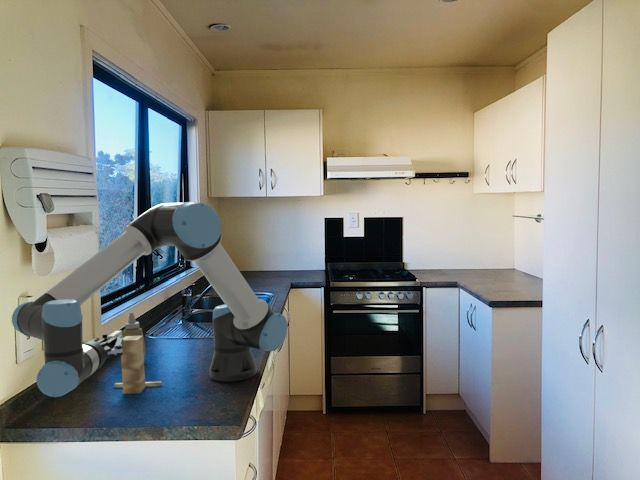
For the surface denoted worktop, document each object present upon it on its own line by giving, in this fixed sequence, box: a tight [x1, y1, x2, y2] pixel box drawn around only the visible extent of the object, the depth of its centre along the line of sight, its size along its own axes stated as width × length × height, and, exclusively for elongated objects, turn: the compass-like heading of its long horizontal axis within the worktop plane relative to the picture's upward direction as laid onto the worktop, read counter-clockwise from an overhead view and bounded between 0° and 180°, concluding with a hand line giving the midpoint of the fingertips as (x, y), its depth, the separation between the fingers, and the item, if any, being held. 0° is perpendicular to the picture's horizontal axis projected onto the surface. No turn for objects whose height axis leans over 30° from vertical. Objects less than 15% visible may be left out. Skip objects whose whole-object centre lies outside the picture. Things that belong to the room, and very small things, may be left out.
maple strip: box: [114, 381, 163, 389], centre depth 159 cm, size 14×1×1 cm, turn 92°
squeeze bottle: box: [122, 312, 147, 357], centre depth 182 cm, size 8×8×18 cm
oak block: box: [120, 335, 146, 395], centre depth 155 cm, size 5×5×16 cm
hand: (119, 335), depth 145 cm, fingers closed
